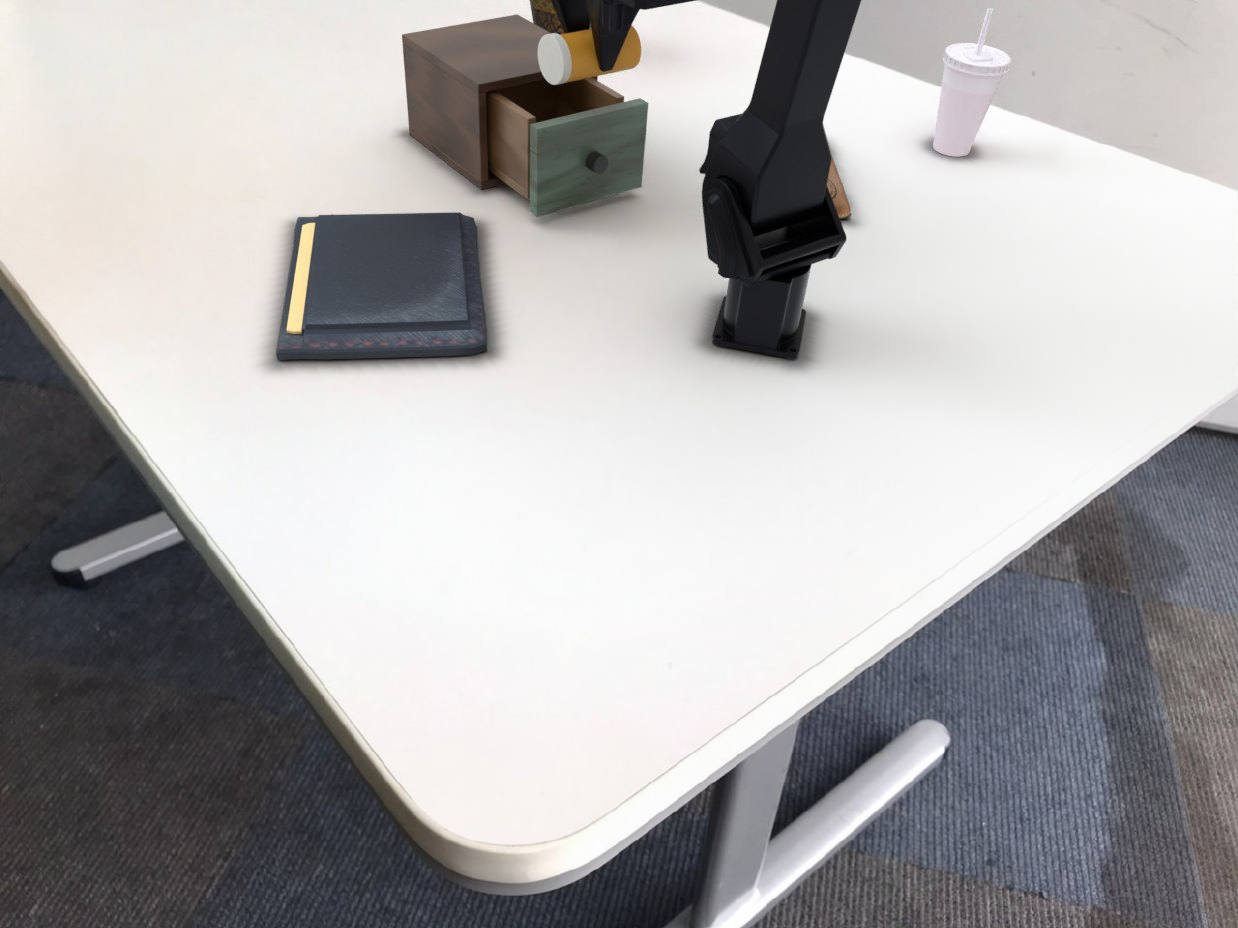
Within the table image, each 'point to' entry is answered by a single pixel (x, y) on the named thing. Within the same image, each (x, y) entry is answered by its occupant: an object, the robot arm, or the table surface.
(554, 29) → the ceramic cup
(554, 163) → the drawer
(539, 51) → the tube
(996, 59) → the smoothie
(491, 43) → the cabinet
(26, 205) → the table surface
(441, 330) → the wallet
